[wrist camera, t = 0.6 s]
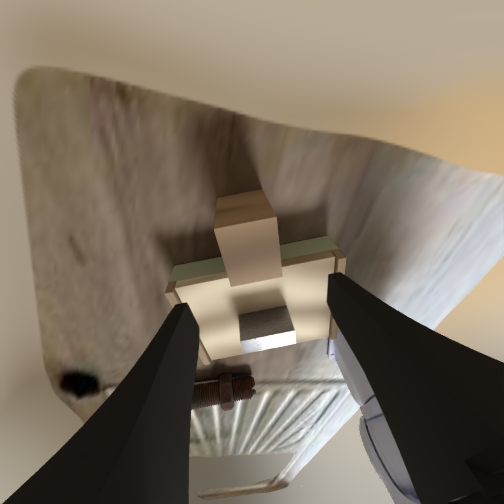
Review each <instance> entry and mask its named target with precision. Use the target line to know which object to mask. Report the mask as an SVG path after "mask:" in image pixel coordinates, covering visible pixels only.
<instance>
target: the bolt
mask: <svg viewBox="0 0 504 504" xmlns="http://www.w3.org/2000/svg"><path fill="white" fill-rule="evenodd" d="M254 386H255V382H254V378H253V377H252V376H246V377H240V378H234V379H232V375H231V374H230V373H228V374H222V375H221V376H220V380H219V381H218V382H217V381H216V382H209V383H205V384H204V383H203V384H202V383H201V385H200V384H199V385H198V384H197V385H196V384H195V385H194V389H193V396H192V405H191V410H192V409H197V408H198V409H199V407H200V408H201V407H202V408H203V407H206V406H207V407H208V406H210V405H211V406H212V405H217V404H218V405H219V403H220V404H221V408H222V409H223V410H224V411H226V410H231V409H232V408H233V407H234V400H235V401H236V400H237V401H238V400H239V401H240V399H241V400H243V399H244V400H245V399H246V400H247V398H248V399H249V398H250V399H251V397H252V396H253V395H254V394H255V393H256V390H255V389H252V388H253V387H254ZM251 389H252V390H251Z"/></svg>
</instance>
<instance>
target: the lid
mask: <svg viewBox="0 0 504 504" xmlns="http://www.w3.org/2000/svg"><path fill="white" fill-rule="evenodd" d="M281 264H282V274H283V277H279V278H274V279H269V280H264V281H259V282H254V283H249V284H244V285H239V286H234V287H231V285H230V282H229V279H228V275H227V272H226V271H224V272H219V273H214V274H209V275H204V276H199V277H194V278H189V279H184V280H179V281H177V282H176V286H175V290H176V292H177V294H178V296H179V298H180V300H181V302H182V303H185V302H187V303H188V305H189V307H190V309H191V311H192V313H193V315H194V317H195V319H196V321H197V323H198V325H199V327H200V339H201V341H202V343H203V345H204V347H205V349H206V351H207V353H208V355H209V356H210V358H211V360H215V359H220V358H225V357H230V356H235V355H240V354H245V353H250V352H255V351H260V350H265V349H270V348H275V347H280V346H285V345H290V344H295V343H300V342H305V341H310V340H315V339H320V338H325V337H329V327H330V314H331V312H330V309H329V307H328V304H327V287H328V274H332V273H334V265H335V256H334V255H333V253H332V252H331V251H325V252H320V253H315V254H310V255H305V256H300V257H295V258H290V259H285V260H281Z"/></svg>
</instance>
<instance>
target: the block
mask: <svg viewBox="0 0 504 504" xmlns="http://www.w3.org/2000/svg"><path fill="white" fill-rule="evenodd" d="M214 232H215V235H216V238H217V242H218V245H219V249H220V252H221V255H222V259H223V262H224V265H225V269H226V272H227V275H228V279H229V282H230V285H231V287H234V286H239V285H244V284H249V283H254V282H259V281H264V280H269V279H274V278H279V277H283V274H282V264H281V254H280V245H279V235H278V225H277V216H276V214H275V213H274V211H273V209H272V207H271V205H270V203H269V201H268V199H267V197H266V195H265V194H264V192H263V190H262V189H260V190H255V191H250V192H245V193H240V194H235V195H229V196H224V197H219V198H217V201H216V211H215V221H214Z"/></svg>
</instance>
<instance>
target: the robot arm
mask: <svg viewBox="0 0 504 504" xmlns="http://www.w3.org/2000/svg"><path fill="white" fill-rule="evenodd" d="M327 304H328V307H329V309H330V312H331V314H332V316H333V318H334V321H335V322H336V324H337V326H338V334H337V339H334V340H331V339H330V337H329V348H328V358H329V359H335V360H336V362H337V364H338V366H339V368H340V371H341V373H342V375H343V377H344V379H345V381H346V384H347V386H348V388H349V390H350V392H351V395H352V396H353V398H354V400H355V401H356V402H357V403H358V404H359V405H360V406H361V407H360V409H361V411H362V414H363V416H362V417H361V418H360V425H359V430H360V435H361V439H362V442H363V445H364V447H365V450H366V452H367V454H368V456H369V458H370V461H371V463H372V465H373V467H374V468H375V470H376V472H377V473H378V475H379V477H380V479H381V480H382V482H383V483H384V484H385V486H386V488H387V490H388V491H389V493H390V495H391V497H392V499H393V501H394V503H395V504H504V363H503V362H501V361H498V360H496V359H494V358H491V357H489V356H487V355H484V354H482V353H480V352H477V351H475V350H473V349H470V348H468V347H466V346H464V345H462V344H460V343H458V342H456V341H453V340H451V339H449V338H447V337H445V336H443V335H441V334H439V333H437V332H435V331H433V330H431V329H429V328H428V327H426V326H424V325H422V324H420V323H418V322H416V321H415V320H413V319H411V318H409V317H407V316H406V315H404V314H402V313H401V312H399V311H397V310H396V309H394V308H392V307H391V306H389V305H388V304H386V303H385V302H383V301H381V300H380V299H378V298H377V297H375V296H374V295H372V294H371V293H369V292H368V291H367V290H365V289H364V288H362V287H361V286H359V285H358V284H357V283H355V282H354V281H352V280H351V279H350V278H348V277H347V276H345V275H344V274H343V273H341V272H337V273H332V274H328V287H327ZM199 338H200V327H199V325H198V323H197V321H196V319H195V317H194V315H193V313H192V311H191V309H190V307H189V305H188V303H187V302H185V303H180V304H175V306H174V307H173V309H172V310H171V312H170V313H169V315H168V316H167V318H166V320H165V321H164V323H163V324H162V326H161V327H160V329H159V331H158V332H157V334H156V335H155V337H154V338H153V340H152V341H151V343H150V344H149V346H148V347H147V348H146V350H145V351H144V353H143V354H142V355H141V357H140V358H139V360H138V361H137V362H136V364H135V365H134V366H133V368H132V369H131V370H130V372H129V373H128V374H127V376H126V377H125V378H124V379H123V381H122V382H121V383H120V384H119V386H118V387H117V388H116V389H115V390H114V392H113V393H112V394H111V395H110V396H109V397H108V399H107V400H106V401H105V402H104V403H103V404H102V405H101V406H100V407H99V409H98V410H97V411H96V412H95V413H94V414H93V415H92V416H91V417H90V418H89V420H88V421H87V422H86V423H85V424H84V425H83V426H82V427H81V428H80V429H79V430H78V432H76V433H75V434H74V435H73V436H72V437H71V439H70V440H69V441H68V442H67V443H66V444H65V445H64V446H63V447H62V448H61V449H60V450H59V451H58V452H57V453H56V454H55V455H54V456H53V457H52V458H51V459H50V460H48V461H47V462H46V463H45V465H43V466H42V467H41V468H40V469H39V470H38V471H37V472H36V473H35V474H34V475H33V476H32V477H31V478H29V479H28V480H27V481H26V482H25V483H24V484H23V485H22V486H21V487H20V488H19V489H18V490H17V491H16V492H14V493H13V494H12V495H11V496H10V497H9V498H8V499H7V500H6V501H5V502H4V503H3V504H189V503H188V502H189V498H188V497H189V494H188V488H189V444H190V421H191V405H192V396H193V389H194V382H195V375H196V368H197V360H198V353H199Z"/></svg>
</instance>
